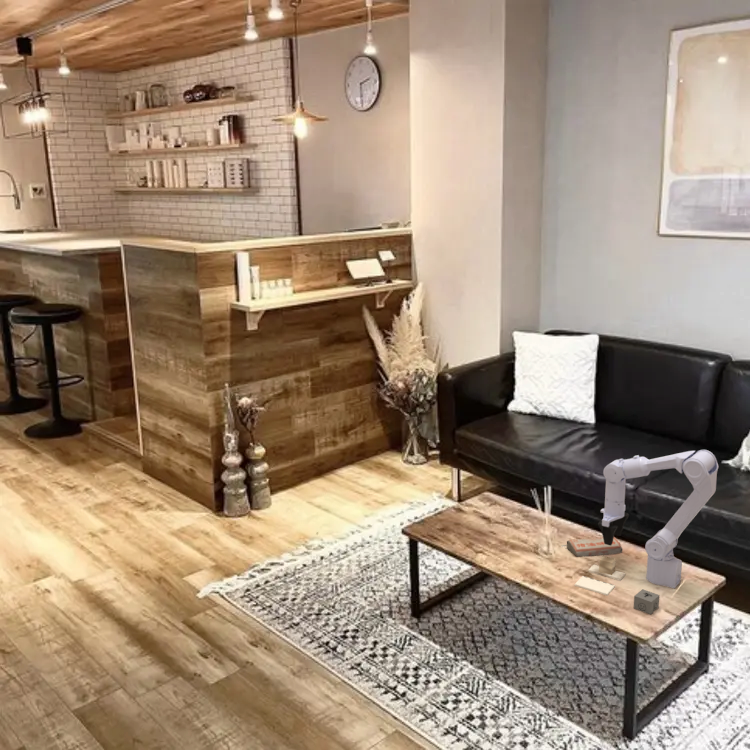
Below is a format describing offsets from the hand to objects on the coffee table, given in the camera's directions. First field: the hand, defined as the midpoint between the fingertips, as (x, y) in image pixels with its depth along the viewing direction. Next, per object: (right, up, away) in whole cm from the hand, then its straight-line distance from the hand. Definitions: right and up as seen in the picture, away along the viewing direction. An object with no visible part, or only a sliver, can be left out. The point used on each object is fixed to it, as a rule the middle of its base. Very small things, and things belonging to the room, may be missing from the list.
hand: (612, 539), depth 239 cm
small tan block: (-3, -9, -3) cm, 11 cm away
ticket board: (-6, -12, -7) cm, 15 cm away
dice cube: (+2, -16, -23) cm, 27 cm away
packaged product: (-3, -8, +12) cm, 14 cm away
